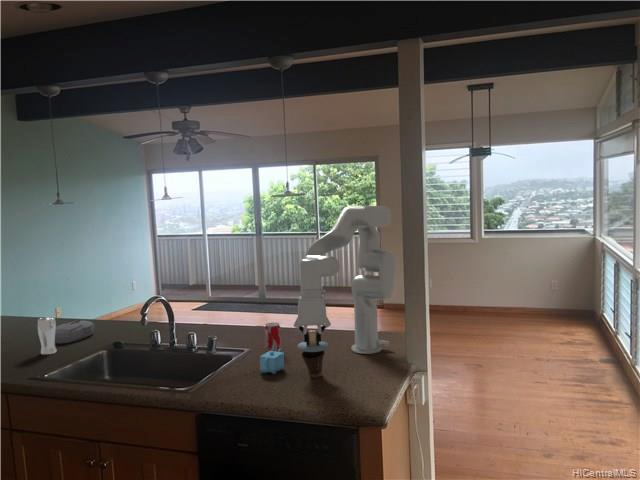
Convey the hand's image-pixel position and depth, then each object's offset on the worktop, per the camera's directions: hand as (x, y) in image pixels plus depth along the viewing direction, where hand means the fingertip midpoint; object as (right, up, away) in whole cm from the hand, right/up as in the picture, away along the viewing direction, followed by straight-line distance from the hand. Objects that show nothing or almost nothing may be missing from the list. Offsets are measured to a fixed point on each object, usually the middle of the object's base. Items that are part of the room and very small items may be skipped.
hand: (312, 343), depth 179 cm
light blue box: (-15, -12, +9) cm, 21 cm away
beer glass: (-115, -12, +38) cm, 122 cm away
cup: (0, -12, +1) cm, 12 cm away
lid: (0, -1, 0) cm, 1 cm away
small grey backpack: (-116, -11, +60) cm, 131 cm away
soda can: (-17, -10, +31) cm, 37 cm away
